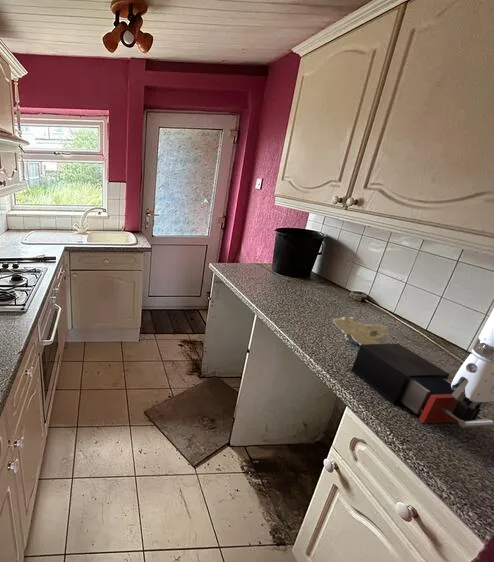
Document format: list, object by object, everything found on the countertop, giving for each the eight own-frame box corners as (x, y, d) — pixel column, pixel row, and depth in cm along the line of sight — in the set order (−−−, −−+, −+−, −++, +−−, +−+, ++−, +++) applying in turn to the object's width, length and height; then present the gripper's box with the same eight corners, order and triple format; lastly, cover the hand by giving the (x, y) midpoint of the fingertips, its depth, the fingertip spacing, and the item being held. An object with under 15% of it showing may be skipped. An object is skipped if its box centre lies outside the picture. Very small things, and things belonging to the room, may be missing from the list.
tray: (491, 440, 73) (508, 414, 70) (448, 443, 72) (463, 416, 69) (412, 384, 91) (422, 362, 88) (376, 386, 89) (386, 363, 87)
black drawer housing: (435, 402, 85) (450, 374, 82) (393, 404, 84) (406, 375, 80) (387, 369, 99) (398, 343, 95) (351, 370, 97) (360, 344, 94)
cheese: (394, 359, 107) (377, 319, 114) (401, 353, 101) (383, 311, 109) (342, 362, 112) (329, 324, 120) (346, 357, 107) (332, 317, 114)
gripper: (489, 364, 63) (451, 432, 69) (553, 362, 64) (510, 429, 71) (449, 343, 70) (418, 407, 76) (508, 342, 71) (472, 405, 78)
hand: (462, 417), depth 74 cm, fingers closed
